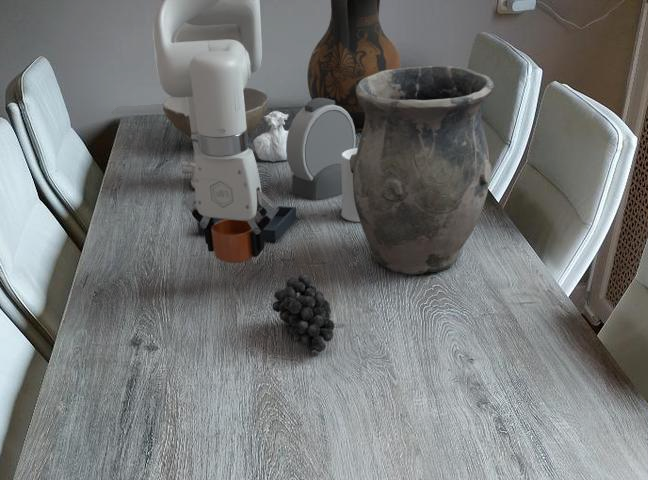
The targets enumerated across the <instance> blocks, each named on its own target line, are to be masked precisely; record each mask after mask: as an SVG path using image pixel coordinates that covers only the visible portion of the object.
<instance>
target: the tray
mask: <svg viewBox="0 0 648 480" xmlns="http://www.w3.org/2000/svg"><path fill="white" fill-rule="evenodd" d="M277 206H278V207H279V211H278V212H277V213H276V215H275V216H274V217H273V219H272V220H271V221H270V223H269V224H268V225H267V226H266V227H265V228H264V229H263V231H264V242H267V243H277V242H278V240H279V239H280V238H281V237H282V236H283V235H284V234H285V233H286V231H287V230H288V229H289V228H290V227H291V225H293V224H294V222H295V221H296V220H297V208H296V207H294V206H283V205H277ZM259 213H260V215H261V216H262V218H264V216H265V215H266V213H267V211H266V210H265V209H264V208H263V207H262V209H261V210H260V211H259ZM221 220H225V219H219V218H214V220H213V221H214V222H219V221H221ZM197 230H198V236H205V234H204V229H203V228H202V227H201V226H200V223H199V222H198V221H197Z"/></svg>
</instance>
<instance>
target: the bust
mask: <svg viewBox="0 0 648 480" xmlns="http://www.w3.org/2000/svg"><path fill="white" fill-rule="evenodd" d="M288 118H289V114H288V113H287V114H286V113H283V112H281V111H278V110H273V111H272V112H270V113H268V114H267V115H264V117H263V119H264V121H266V122H267V126H268V127H269V126H270V129H269V131H266V132H265V131H264V132H263V133H261V134H260V135H258V136H256V137H255V138H254V139H253V142H252V143H253V146H254V150H255V153H256V155H257V157H258V158H259V159H260V160H261V161H268V162H272V163H275V162H280V161H281V162H282V161H287V162H288V160H287V153H286V143H287V137H288V132H289V130H285V128H284V125H286V122H285V121H287V120H288Z"/></svg>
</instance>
